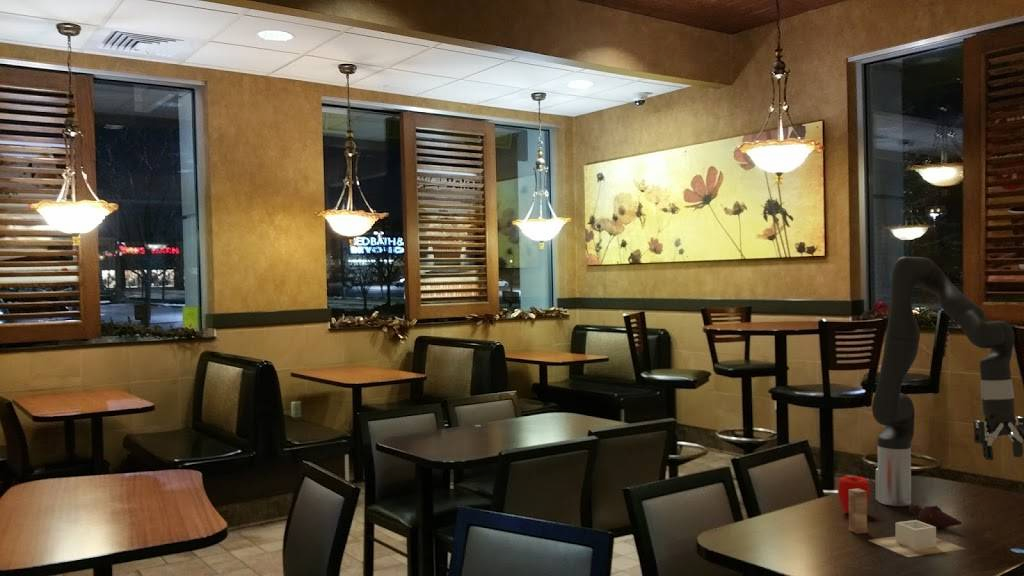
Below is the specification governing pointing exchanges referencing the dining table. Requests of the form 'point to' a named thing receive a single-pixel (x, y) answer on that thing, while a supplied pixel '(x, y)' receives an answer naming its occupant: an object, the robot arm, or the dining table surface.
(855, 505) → the square wooden post
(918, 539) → the white square box
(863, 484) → the apple
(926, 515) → the icecream
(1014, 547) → the dining table surface
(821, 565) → the dining table surface
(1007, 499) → the dining table surface
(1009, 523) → the dining table surface
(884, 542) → the wooden board
